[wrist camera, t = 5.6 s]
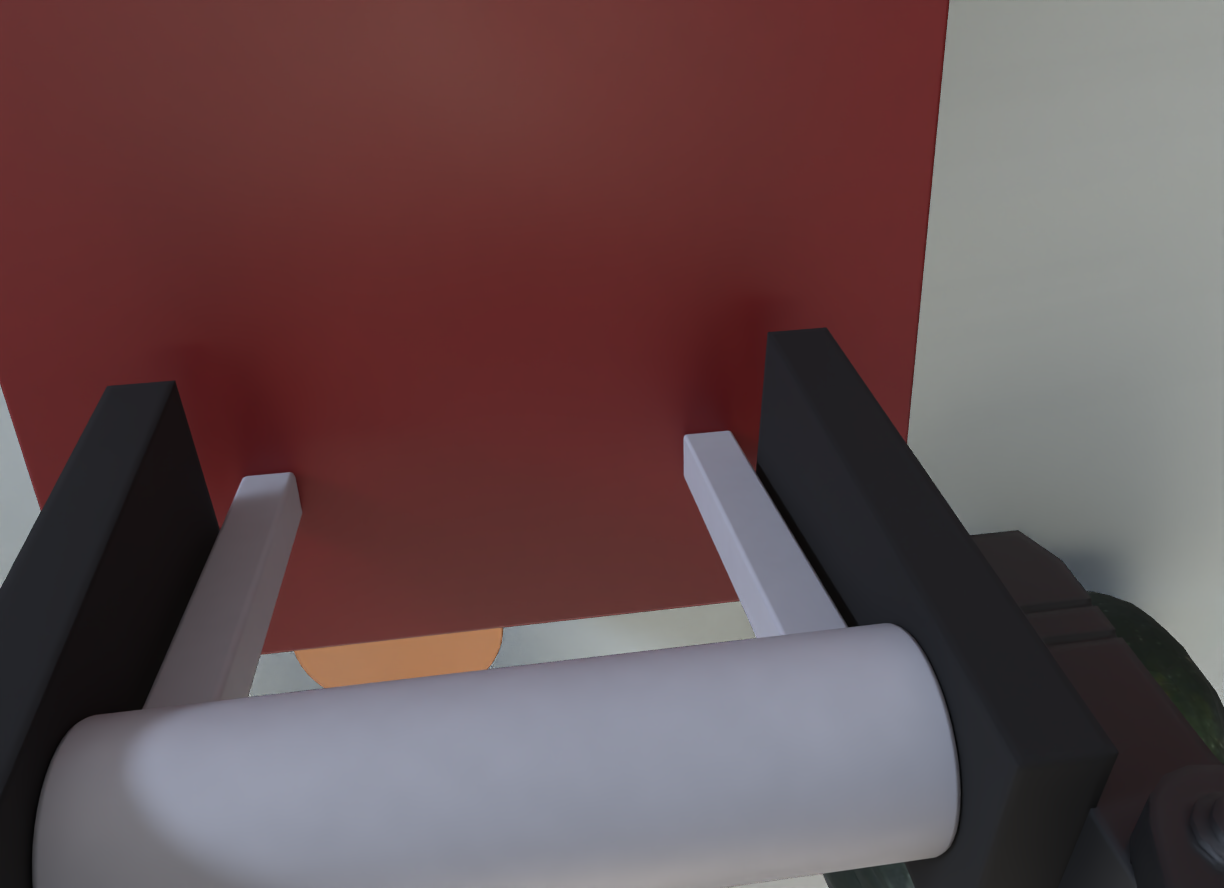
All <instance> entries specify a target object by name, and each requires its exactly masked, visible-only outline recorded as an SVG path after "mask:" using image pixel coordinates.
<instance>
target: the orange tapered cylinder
mask: <svg viewBox="0 0 1224 888" xmlns="http://www.w3.org/2000/svg"><path fill="white" fill-rule="evenodd" d="M502 637H503V628H495V629H486V630H477V631H468V632H459V633H450V634H441V635H432V636H423V637H414V638H405V639H396V640H387V641H378V642H370V643H361V644H352V645H343V646H334V647H325V648H316V649H307V650H298V651H294V652H295V655H296V658H297V659H298V661H299V663H300V664H301V666H302V668H303V669H304V670H305V671H306V672H307V674H308V675H309V676H310V677H311V678H312V679H313V680H315V681H316V682H317V683H318V684H319V685H321V686H322V687H324V688H332V687H340V686H349V685H358V684H366V683H375V682H383V681H392V680H401V679H409V678H418V677H426V676H435V675H444V674H452V673H461V672H469V671H478V670H487V669H488V668H489V667H490V665H491V664H492V663H493V661H494V659H495V657H496V656H497V654H498V652H499V649H500V646H501V643H502Z"/></svg>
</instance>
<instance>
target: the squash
mask: <svg viewBox="0 0 1224 888" xmlns="http://www.w3.org/2000/svg"><path fill="white" fill-rule="evenodd" d="M1086 592H1087V593H1088V594H1089V596H1090V597H1091V602H1092V605H1093V606H1098V607H1099V608H1100V610H1101V611H1102V612H1103V614H1104V615H1105V616H1106V617H1107V619H1108V620H1109V621H1110V622H1111V624H1112V625H1113V626H1114V628H1115V629H1116V631H1115V632H1116V636H1117V637H1118V638H1120V637H1122V638H1123V639H1124V640H1125V642H1126V643H1127V644H1128V645H1129V647H1130V648H1131V649H1132V651H1133V652H1134V653H1135V654H1136V656H1137V657H1138V658H1139V660H1140V661H1141V662H1142V663H1143V665H1144V666H1145V667H1146V669H1147V670H1148V671H1149V672H1150V674H1151V675H1152V676H1153V677H1154V679H1155V680H1156V681H1157V683H1158V684H1159V685H1160V686H1161V688H1162V689H1163V690H1164V692H1165V693H1166V694H1167V695H1168V697H1169V698H1170V699H1171V700H1172V702H1173V703H1174V704H1175V706H1176V707H1177V708H1178V709H1179V711H1180V712H1181V713H1182V715H1183V716H1184V717H1185V718H1186V720H1187V721H1188V722H1189V723H1190V725H1191V726H1192V727H1193V729H1194V730H1195V731H1196V732H1197V734H1198V735H1199V736H1200V738H1201V739H1202V740H1203V741H1204V743H1205V744H1206V745H1207V746H1208V748H1209V749H1210V750H1211V752H1212V753H1213V754H1214V755H1215V756H1216V757H1217V759H1218V760H1219V761H1220V762H1221V763H1222V764H1223V765H1224V707H1223V705H1222V703H1221V700H1220V698H1219V696H1218V694H1217V692H1216V691H1215V689H1214V688H1213V687H1212V685H1211V684H1210V683H1209V681H1208V680H1207V679H1206V677H1205V676H1204V675H1203V674H1202V672H1201V671H1200V670H1199V668H1198V667H1197V666H1196V664H1195V663H1194V662H1193V660H1192V659H1191V658H1190V656H1189V655H1188V653H1187V652H1186V650H1185V649H1184V647H1183V646H1182V645H1181V644H1180V643H1178V642H1177V641H1176V640H1175V639H1174V638H1173V637H1172V636H1171V635H1170V634H1169V633H1168V632H1167V631H1166V630H1165V629H1164V628H1163V627H1162V626H1161V625H1160V624H1159V623H1157V622H1156V621H1155V620H1154V619H1153V618H1152V617H1150V616H1149V615H1148V614H1146V613H1145V612H1144V611H1142V610H1141V609H1139V608H1138V607H1136V606H1135V605H1133V604H1131V603H1129V602H1126V601H1123V600H1120V599H1117V598H1115V597H1113V596H1110V595H1105V594H1101V593H1096V592H1088V591H1086ZM823 876H824V878H825V880H826V883H827V885H828V887H829V888H915V887H914V884H913V882H912V879H911V877H910V875H909V872H908V870H907V868H906V865H905V863H904V862H900V863H893V864H886V865H879V866H872V867H865V868H858V869H851V870H844V871H837V872H830V873H823Z"/></svg>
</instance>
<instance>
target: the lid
mask: <svg viewBox="0 0 1224 888" xmlns="http://www.w3.org/2000/svg"><path fill="white" fill-rule="evenodd" d="M948 9H949V0H0V385H1V388H2V391H3V394H4V397H5V400H6V403H7V407H8V410H9V413H10V416H11V419H12V422H13V425H14V428H15V432H16V435H17V438H18V441H19V444H20V447H21V450H22V453H23V457H24V460H25V463H26V466H27V469H28V472H29V475H30V478H31V481H32V485H33V488H34V491H35V494H36V497H37V500H38V503H39V506H40V510H42V509H43V507H44V505H45V503H46V501H47V499H48V497H49V495H50V493H51V491H52V490H53V488H54V486H55V484H56V482H57V480H58V478H59V476H60V474H61V472H62V471H63V469H64V467H65V465H66V463H67V461H68V459H69V457H70V455H71V453H72V452H73V450H74V448H75V446H76V444H77V442H78V440H79V438H80V436H81V434H82V432H83V431H84V429H85V427H86V425H87V423H88V421H89V419H90V417H91V415H92V413H93V412H94V410H95V408H96V406H97V404H98V402H99V400H100V398H101V396H102V394H103V393H104V391H105V389H106V387H107V386H112V385H124V384H137V383H149V382H161V381H173V380H175V381H176V385H177V388H178V391H179V395H180V398H181V401H182V405H183V408H184V411H185V415H186V418H187V421H188V425H189V428H190V431H191V435H192V438H193V441H194V445H195V448H196V451H197V455H198V458H199V461H200V465H201V468H202V471H203V475H204V478H205V481H206V485H207V488H208V491H209V495H210V498H211V501H212V505H213V508H214V511H215V515H216V518H217V521H218V525H219V528H220V531H219V534H218V536H217V538H216V541H215V543H214V545H213V548H212V550H211V552H210V554H209V557H208V559H207V561H206V564H205V566H204V568H203V571H202V573H201V575H200V577H199V580H198V582H197V584H196V587H195V589H194V591H193V594H192V596H191V598H190V600H189V603H188V605H187V607H186V610H185V612H184V614H183V617H182V619H181V621H180V623H179V626H178V628H177V630H176V633H175V635H174V637H173V640H172V642H171V644H170V647H169V649H168V651H167V653H166V656H165V658H164V660H163V663H162V665H161V667H160V670H159V672H158V674H157V676H156V679H155V681H154V683H153V686H152V688H151V690H150V693H149V695H148V697H147V699H146V702H145V704H144V706H143V709H142V710H134V711H125V712H117V713H108V714H99V715H93V716H90V717H87V718H85V719H83V720H82V721H80V722H78V723H77V724H75V725H74V726H73V727H72V728H71V729H70V730H69V731H68V732H67V733H66V735H65V736H64V737H63V739H62V740H61V742H60V744H59V745H58V747H57V749H56V751H55V753H54V755H53V757H52V759H51V762H50V764H49V767H48V770H47V773H46V775H45V779H44V782H43V786H42V789H41V793H40V798H39V803H38V807H37V813H36V820H35V826H34V837H33V849H32V885H33V888H726V887H733V886H740V885H747V884H754V883H761V882H768V881H775V880H781V879H788V878H795V877H802V876H809V875H816V874H823V873H830V872H837V871H844V870H851V869H858V868H865V867H872V866H879V865H886V864H893V863H900V862H907V861H914V860H921V859H928V858H935V857H937V856H939V855H941V854H943V853H944V852H945V851H946V850H947V849H948V848H949V847H950V846H951V844H952V842H953V840H954V838H955V835H956V832H957V827H958V822H959V815H960V801H961V788H960V772H959V762H958V755H957V748H956V742H955V737H954V732H953V728H952V724H951V720H950V716H949V712H948V709H947V705H946V702H945V699H944V696H943V693H942V690H941V688H940V685H939V682H938V680H937V677H936V675H935V673H934V671H933V668H932V666H931V664H930V662H929V660H928V658H927V657H926V655H925V653H924V652H923V650H922V648H921V647H920V645H919V644H918V643H917V641H916V640H915V639H914V638H913V637H912V636H911V635H910V634H909V633H908V632H907V631H906V630H905V629H903V628H902V627H899V626H897V625H894V624H891V623H882V624H874V625H865V626H856V627H848V626H847V624H846V622H845V621H844V619H843V617H842V616H841V614H840V612H839V611H838V609H837V607H836V606H835V604H834V602H833V601H832V599H831V597H830V596H829V594H828V592H827V591H826V589H825V587H824V586H823V584H822V582H821V581H820V579H819V577H818V576H817V574H816V572H815V570H814V569H813V567H812V565H811V564H810V562H809V560H808V559H807V557H806V555H805V554H804V552H803V550H802V549H801V547H800V545H799V544H798V542H797V540H796V539H795V537H794V535H793V534H792V532H791V530H790V529H789V527H788V525H787V524H786V522H785V520H784V519H783V517H782V515H781V514H780V512H779V510H778V509H777V507H776V505H775V504H774V502H773V500H772V499H771V497H770V495H769V494H768V492H767V490H766V489H765V487H764V485H763V484H762V482H761V480H760V479H759V477H758V475H757V474H756V464H757V452H758V440H759V428H760V416H761V404H762V392H763V381H764V369H765V357H766V345H767V333H768V332H775V331H787V330H800V329H812V328H824V327H827V329H828V330H829V332H830V333H831V334H832V336H833V337H834V339H835V340H836V342H837V343H838V345H839V346H840V348H841V349H842V350H843V352H844V353H845V355H846V356H847V358H848V359H849V361H850V362H851V364H852V365H853V366H854V368H855V369H856V371H857V372H858V374H859V375H860V377H861V378H862V380H863V381H864V382H865V384H866V385H867V387H868V388H869V390H870V391H871V393H872V394H873V395H874V397H875V398H876V400H877V401H878V403H879V404H880V406H881V407H882V409H883V410H884V411H885V413H886V414H887V416H888V417H889V419H890V420H891V422H892V423H893V425H894V426H895V427H896V429H897V430H898V432H899V433H900V435H901V436H902V438H903V439H904V441H905V442H906V443H907V438H908V427H909V417H910V407H911V396H912V386H913V375H914V365H915V354H916V344H917V333H918V323H919V312H920V302H921V292H922V281H923V271H924V260H925V250H926V239H927V229H928V218H929V208H930V197H931V187H932V176H933V166H934V156H935V145H936V135H937V124H938V114H939V103H940V93H941V82H942V72H943V61H944V51H945V41H946V30H947V20H948ZM736 601H740V602H741V604H742V606H743V609H744V611H745V613H746V615H747V618H748V620H749V622H750V624H751V626H752V629H753V631H754V633H755V635H756V638H753V639H745V640H736V641H727V642H719V643H710V644H702V645H693V646H684V647H676V648H667V649H659V650H650V651H641V652H633V653H624V654H616V655H607V656H598V657H590V658H581V659H573V660H564V661H555V662H547V663H538V664H530V665H521V666H512V667H504V668H495V669H487V670H478V671H469V672H461V673H452V674H444V675H435V676H426V677H418V678H409V679H401V680H392V681H383V682H375V683H366V684H358V685H349V686H340V687H332V688H323V689H314V690H306V691H297V692H289V693H280V694H271V695H263V696H254V697H248V695H249V692H250V689H251V685H252V682H253V679H254V675H255V672H256V668H257V665H258V662H259V658H260V655H262V654H271V653H280V652H289V651H298V650H307V649H316V648H325V647H334V646H343V645H352V644H361V643H370V642H378V641H387V640H396V639H405V638H414V637H423V636H432V635H441V634H450V633H459V632H468V631H477V630H486V629H495V628H503V627H512V626H521V625H530V624H539V623H548V622H557V621H566V620H575V619H584V618H593V617H602V616H611V615H620V614H628V613H637V612H646V611H655V610H664V609H673V608H682V607H691V606H700V605H709V604H718V603H727V602H736Z"/></svg>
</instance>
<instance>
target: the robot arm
mask: <svg viewBox="0 0 1224 888" xmlns="http://www.w3.org/2000/svg"><path fill="white" fill-rule="evenodd" d="M756 474H757V475H758V477H759V479H760V480H761V482H762V484H763V485H764V487H765V489H766V490H767V492H768V494H769V495H770V497H771V499H772V500H773V502H774V504H775V505H776V507H777V509H778V510H779V512H780V514H781V515H782V517H783V519H784V520H785V522H786V524H787V525H788V527H789V529H790V530H791V532H792V534H793V535H794V537H795V539H796V540H797V542H798V544H799V545H800V547H801V549H802V550H803V552H804V554H805V555H806V557H807V559H808V560H809V562H810V564H811V565H812V567H813V569H814V570H815V572H816V574H817V576H818V577H819V579H820V581H821V582H822V584H823V586H824V587H825V589H826V591H827V592H828V594H829V596H830V597H831V599H832V601H833V602H834V604H835V606H836V607H837V609H838V611H839V612H840V614H841V616H842V617H843V619H844V621H845V622H846V624H847V626H848V627H856V626H865V625H874V624H882V623H891V624H894V625H897V626H899V627H902V628H903V629H905V630H906V631H907V632H908V633H909V634H910V635H911V636H912V637H913V638H914V639H915V640H916V641H917V643H918V644H919V645H920V647H921V648H922V650H923V652H924V653H925V655H926V657H927V658H928V660H929V662H930V664H931V666H932V668H933V671H934V673H935V675H936V677H937V680H938V682H939V685H940V688H941V690H942V693H943V696H944V699H945V702H946V705H947V709H948V712H949V716H950V720H951V724H952V728H953V732H954V737H955V742H956V748H957V755H958V762H959V772H960V788H961V801H960V815H959V822H958V827H957V832H956V835H955V838H954V840H953V842H952V844H951V846H950V847H949V848H948V849H947V850H946V851H945V852H944V853H943V854H941V855H939V856H937V857H935V858H928V859H921V860H914V861H907V862H904V863H905V865H906V868H907V870H908V872H909V875H910V877H911V879H912V882H913V884H914V887H915V888H1224V765H1223V764H1222V763H1221V762H1220V761H1219V760H1218V759H1217V757H1216V756H1215V755H1214V754H1213V753H1212V752H1211V750H1210V749H1209V748H1208V746H1207V745H1206V744H1205V743H1204V741H1203V740H1202V739H1201V738H1200V736H1199V735H1198V734H1197V732H1196V731H1195V730H1194V729H1193V727H1192V726H1191V725H1190V723H1189V722H1188V721H1187V720H1186V718H1185V717H1184V716H1183V715H1182V713H1181V712H1180V711H1179V709H1178V708H1177V707H1176V706H1175V704H1174V703H1173V702H1172V700H1171V699H1170V698H1169V697H1168V695H1167V694H1166V693H1165V692H1164V690H1163V689H1162V688H1161V686H1160V685H1159V684H1158V683H1157V681H1156V680H1155V679H1154V677H1153V676H1152V675H1151V674H1150V672H1149V671H1148V670H1147V669H1146V667H1145V666H1144V665H1143V663H1142V662H1141V661H1140V660H1139V658H1138V657H1137V656H1136V654H1135V653H1134V652H1133V651H1132V649H1131V648H1130V647H1129V645H1128V644H1127V643H1126V642H1125V640H1124V639H1123V638H1122V637H1120V638H1118V637H1117V636H1116V632H1115V631H1116V629H1115V628H1114V626H1113V625H1112V624H1111V622H1110V621H1109V620H1108V619H1107V617H1106V616H1105V615H1104V614H1103V612H1102V611H1101V610H1100V608H1099V607H1098V606H1093V605H1092V602H1091V597H1090V596H1089V594H1088V593H1087V592H1086V591H1085V589H1084V588H1083V587H1082V585H1081V584H1080V583H1079V582H1078V580H1077V579H1076V578H1075V576H1074V575H1073V574H1072V573H1071V571H1070V570H1069V569H1068V568H1067V566H1066V565H1065V564H1064V562H1063V561H1062V560H1060V559H1059V558H1058V557H1056V556H1055V555H1053V554H1052V553H1050V552H1049V551H1047V550H1046V549H1045V548H1043V547H1042V546H1040V545H1039V544H1037V543H1036V542H1034V541H1033V540H1031V539H1030V538H1029V537H1027V536H1026V535H1024V534H1023V533H1021V532H1020V531H1018V530H1017V531H1007V532H998V533H988V534H979V535H969V533H968V532H967V531H966V529H965V528H964V526H963V525H962V523H961V522H960V520H959V519H958V518H957V516H956V515H955V513H954V512H953V510H952V509H951V507H950V506H949V504H948V503H947V502H946V500H945V499H944V497H943V496H942V494H941V493H940V491H939V490H938V488H937V487H936V486H935V484H934V483H933V481H932V480H931V478H930V477H929V475H928V474H927V472H926V471H925V470H924V468H923V467H922V465H921V464H920V462H919V461H918V459H917V458H916V456H915V455H914V454H913V452H912V451H911V449H910V448H909V446H908V445H907V443H906V442H905V441H904V439H903V438H902V436H901V435H900V433H899V432H898V430H897V429H896V427H895V426H894V425H893V423H892V422H891V420H890V419H889V417H888V416H887V414H886V413H885V411H884V410H883V409H882V407H881V406H880V404H879V403H878V401H877V400H876V398H875V397H874V395H873V394H872V393H871V391H870V390H869V388H868V387H867V385H866V384H865V382H864V381H863V380H862V378H861V377H860V375H859V374H858V372H857V371H856V369H855V368H854V366H853V365H852V364H851V362H850V361H849V359H848V358H847V356H846V355H845V353H844V352H843V350H842V349H841V348H840V346H839V345H838V343H837V342H836V340H835V339H834V337H833V336H832V334H831V333H830V332H829V330H828V329H827V327H824V328H812V329H800V330H787V331H775V332H768V333H767V345H766V357H765V369H764V381H763V392H762V404H761V416H760V428H759V440H758V452H757V464H756ZM219 531H220V528H219V525H218V521H217V518H216V515H215V511H214V508H213V505H212V501H211V498H210V495H209V491H208V488H207V485H206V481H205V478H204V475H203V471H202V468H201V465H200V461H199V458H198V455H197V451H196V448H195V445H194V441H193V438H192V435H191V431H190V428H189V425H188V421H187V418H186V415H185V411H184V408H183V405H182V401H181V398H180V395H179V391H178V388H177V385H176V381H175V380H173V381H161V382H149V383H137V384H124V385H112V386H107V387H106V389H105V391H104V393H103V394H102V396H101V398H100V400H99V402H98V404H97V406H96V408H95V410H94V412H93V413H92V415H91V417H90V419H89V421H88V423H87V425H86V427H85V429H84V431H83V432H82V434H81V436H80V438H79V440H78V442H77V444H76V446H75V448H74V450H73V452H72V453H71V455H70V457H69V459H68V461H67V463H66V465H65V467H64V469H63V471H62V472H61V474H60V476H59V478H58V480H57V482H56V484H55V486H54V488H53V490H52V491H51V493H50V495H49V497H48V499H47V501H46V503H45V505H44V507H43V509H42V510H41V512H40V514H39V516H38V518H37V520H36V522H35V524H34V526H33V528H32V529H31V531H30V533H29V535H28V537H27V539H26V541H25V543H24V545H23V547H22V549H21V550H20V552H19V554H18V556H17V558H16V560H15V562H14V564H13V566H12V568H11V569H10V571H9V573H8V575H7V577H6V579H5V581H4V583H3V585H2V587H1V588H0V888H33V885H32V849H33V837H34V826H35V820H36V813H37V807H38V803H39V798H40V793H41V789H42V786H43V782H44V779H45V775H46V773H47V770H48V767H49V764H50V762H51V759H52V757H53V755H54V753H55V751H56V749H57V747H58V745H59V744H60V742H61V740H62V739H63V737H64V736H65V735H66V733H67V732H68V731H69V730H70V729H71V728H72V727H73V726H74V725H75V724H77V723H78V722H80V721H82V720H83V719H85V718H87V717H90V716H93V715H99V714H108V713H117V712H125V711H134V710H142V709H143V706H144V704H145V702H146V699H147V697H148V695H149V693H150V690H151V688H152V686H153V683H154V681H155V679H156V676H157V674H158V672H159V670H160V667H161V665H162V663H163V660H164V658H165V656H166V653H167V651H168V649H169V647H170V644H171V642H172V640H173V637H174V635H175V633H176V630H177V628H178V626H179V623H180V621H181V619H182V617H183V614H184V612H185V610H186V607H187V605H188V603H189V600H190V598H191V596H192V594H193V591H194V589H195V587H196V584H197V582H198V580H199V577H200V575H201V573H202V571H203V568H204V566H205V564H206V561H207V559H208V557H209V554H210V552H211V550H212V548H213V545H214V543H215V541H216V538H217V536H218V534H219Z"/></svg>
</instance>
